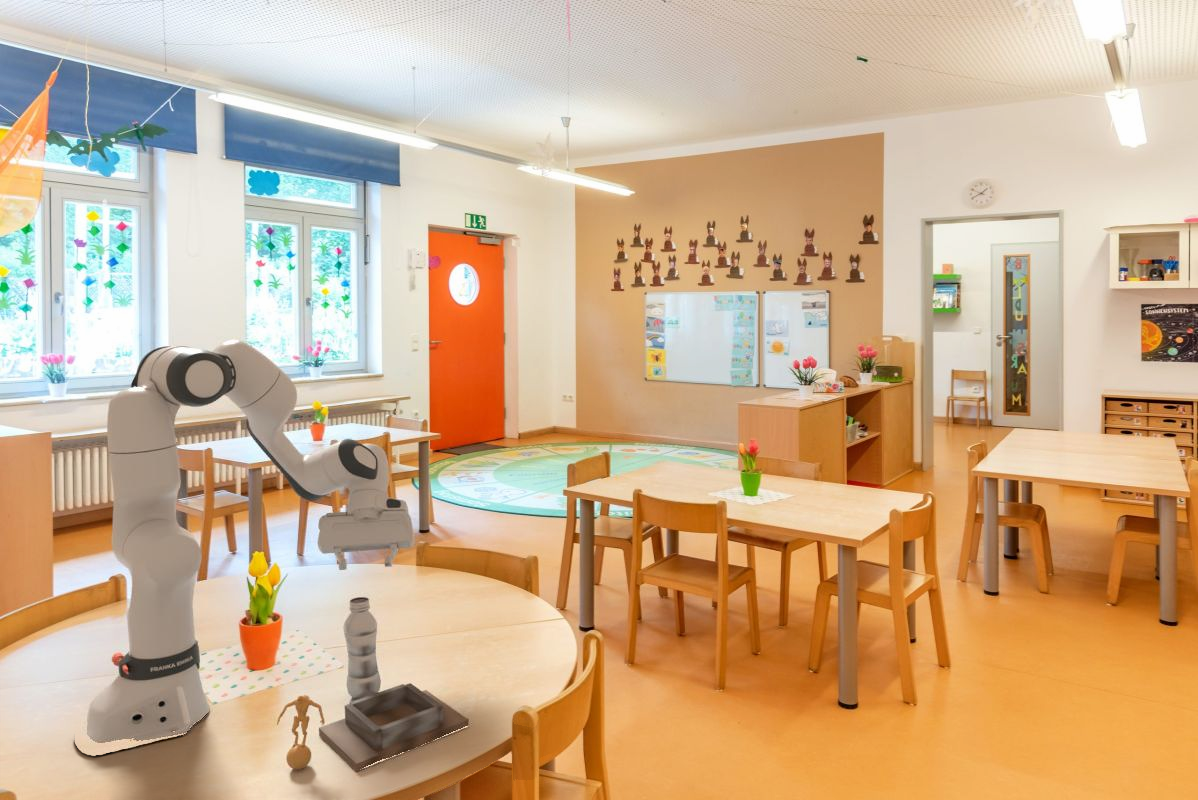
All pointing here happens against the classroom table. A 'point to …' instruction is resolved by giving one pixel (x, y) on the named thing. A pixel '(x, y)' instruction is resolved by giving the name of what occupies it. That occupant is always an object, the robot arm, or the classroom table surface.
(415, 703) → the bottle holder board
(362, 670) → the plastic bottle
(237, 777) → the classroom table surface
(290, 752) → the figurine
